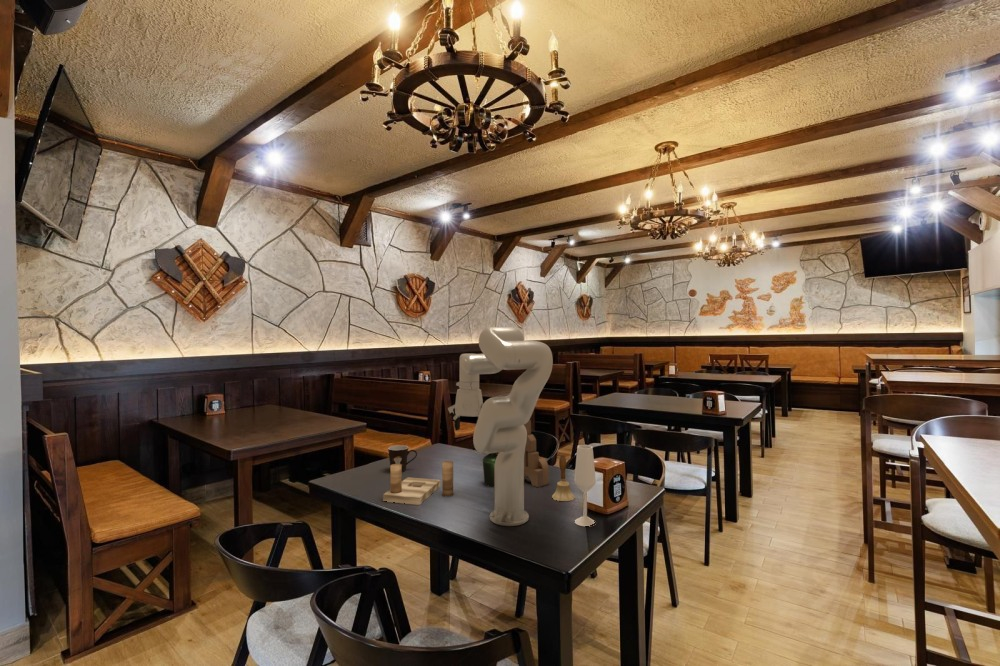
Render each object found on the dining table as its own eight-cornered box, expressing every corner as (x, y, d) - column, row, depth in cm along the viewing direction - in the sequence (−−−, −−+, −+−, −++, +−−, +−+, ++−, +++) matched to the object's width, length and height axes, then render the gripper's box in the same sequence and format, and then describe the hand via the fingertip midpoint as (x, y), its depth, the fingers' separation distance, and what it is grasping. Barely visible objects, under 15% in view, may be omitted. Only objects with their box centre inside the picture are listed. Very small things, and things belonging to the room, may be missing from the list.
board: (419, 505, 161) (419, 470, 161) (383, 501, 164) (383, 467, 164) (440, 486, 180) (440, 455, 180) (407, 483, 184) (407, 453, 184)
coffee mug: (384, 472, 198) (384, 449, 198) (394, 467, 206) (394, 444, 206) (408, 475, 195) (408, 451, 195) (418, 469, 203) (418, 446, 203)
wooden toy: (549, 484, 183) (549, 421, 183) (537, 487, 179) (537, 423, 179) (523, 474, 195) (523, 415, 195) (511, 478, 191) (511, 417, 191)
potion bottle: (488, 479, 189) (488, 435, 189) (506, 482, 185) (506, 437, 185) (478, 485, 182) (478, 439, 182) (496, 488, 178) (496, 441, 178)
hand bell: (565, 503, 162) (565, 458, 162) (547, 498, 168) (547, 454, 168) (579, 497, 168) (579, 454, 168) (560, 492, 174) (560, 450, 174)
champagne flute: (570, 519, 148) (570, 445, 148) (587, 516, 151) (587, 443, 151) (582, 528, 142) (582, 450, 142) (600, 524, 145) (600, 447, 144)
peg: (451, 497, 169) (451, 464, 169) (440, 496, 170) (440, 463, 170) (454, 493, 173) (454, 461, 173) (444, 492, 174) (444, 460, 174)
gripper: (444, 386, 175) (444, 431, 175) (487, 387, 170) (487, 434, 170) (452, 384, 182) (452, 427, 182) (493, 385, 177) (493, 429, 177)
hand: (469, 430), depth 176 cm, fingers open, 9 cm apart
